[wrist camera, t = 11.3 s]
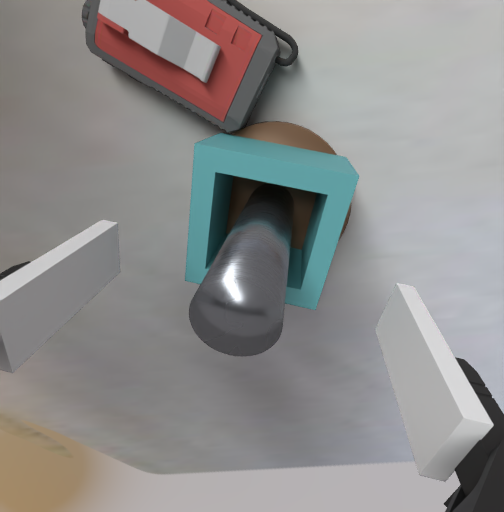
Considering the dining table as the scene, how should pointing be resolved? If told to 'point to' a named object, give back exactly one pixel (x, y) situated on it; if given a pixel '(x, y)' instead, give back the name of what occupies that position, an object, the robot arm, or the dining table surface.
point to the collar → (276, 172)
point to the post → (248, 278)
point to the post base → (302, 198)
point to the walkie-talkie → (190, 51)
